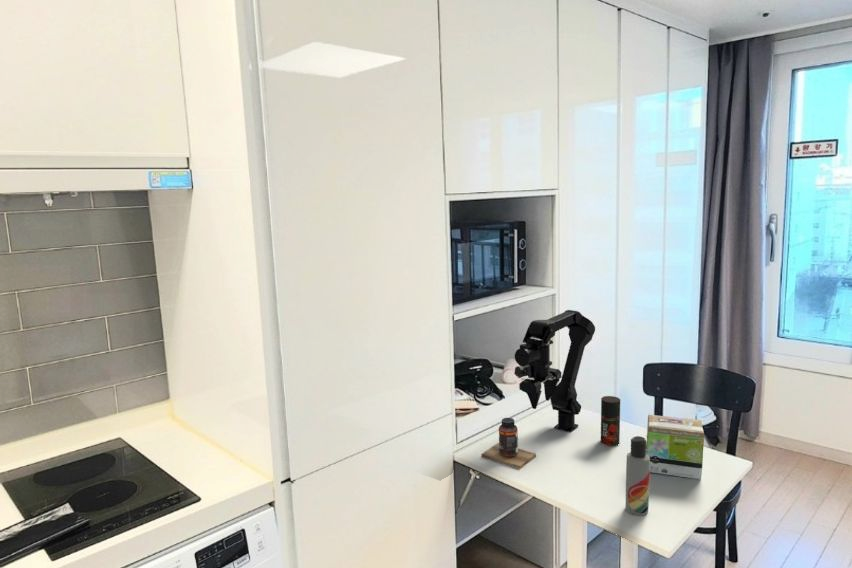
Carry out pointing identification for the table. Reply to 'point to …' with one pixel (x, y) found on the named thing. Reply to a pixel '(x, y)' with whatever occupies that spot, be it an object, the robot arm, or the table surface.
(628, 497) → the lotion bottle
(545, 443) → the table surface
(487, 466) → the table surface
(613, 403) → the deodorant
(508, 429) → the supplement bottle
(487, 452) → the walnut board
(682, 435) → the tea box
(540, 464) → the table surface
